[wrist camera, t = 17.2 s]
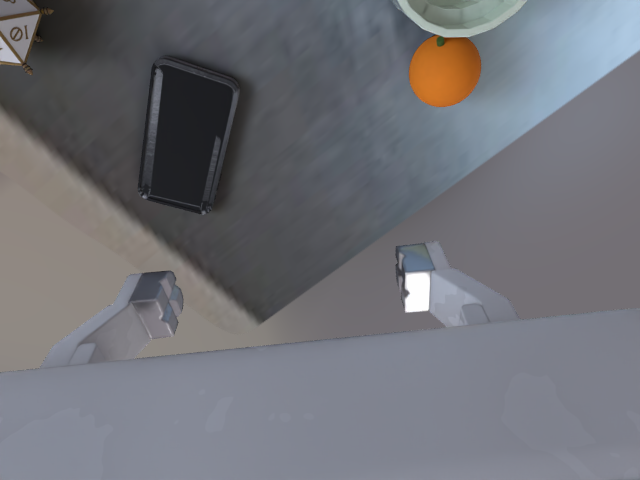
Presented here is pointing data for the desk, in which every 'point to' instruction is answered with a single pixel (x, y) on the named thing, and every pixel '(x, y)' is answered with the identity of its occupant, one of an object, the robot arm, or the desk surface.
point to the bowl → (458, 15)
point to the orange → (444, 70)
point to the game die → (19, 30)
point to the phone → (186, 134)
